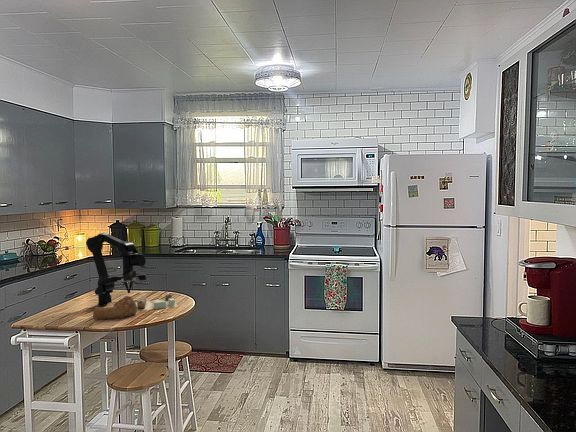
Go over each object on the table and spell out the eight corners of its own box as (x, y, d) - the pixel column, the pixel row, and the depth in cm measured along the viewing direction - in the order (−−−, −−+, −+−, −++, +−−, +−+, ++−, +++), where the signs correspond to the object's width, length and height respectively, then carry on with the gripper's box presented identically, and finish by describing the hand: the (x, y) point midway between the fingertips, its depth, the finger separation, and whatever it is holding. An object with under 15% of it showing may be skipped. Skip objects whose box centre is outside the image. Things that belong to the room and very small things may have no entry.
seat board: (134, 313, 250) (134, 305, 249) (130, 304, 269) (130, 297, 268) (178, 308, 259) (178, 300, 259) (171, 300, 278) (171, 293, 278)
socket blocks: (154, 308, 254) (154, 302, 254) (152, 306, 260) (152, 300, 260) (175, 306, 258) (175, 300, 258) (173, 303, 264) (173, 298, 264)
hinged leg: (144, 308, 254) (144, 301, 253) (136, 309, 253) (136, 302, 253) (147, 301, 270) (147, 295, 270) (140, 302, 269) (139, 295, 269)
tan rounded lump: (130, 328, 234) (141, 312, 248) (127, 310, 231) (139, 294, 245) (94, 327, 236) (107, 311, 250) (90, 309, 232) (104, 293, 246)
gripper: (109, 268, 252) (110, 297, 253) (145, 266, 257) (146, 294, 258) (110, 265, 263) (111, 293, 263) (145, 263, 268) (146, 290, 269)
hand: (128, 293), depth 263 cm, fingers closed
